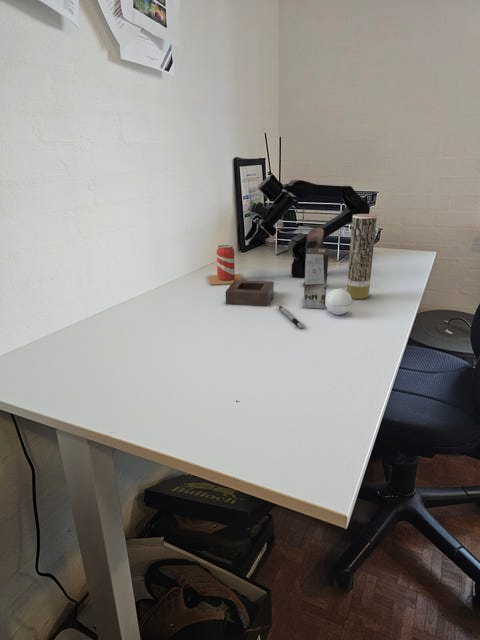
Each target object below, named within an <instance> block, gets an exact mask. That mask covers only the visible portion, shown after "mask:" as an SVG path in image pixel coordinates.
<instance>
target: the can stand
mask: <svg viewBox="0 0 480 640" xmlns="http://www.w3.org/2000/svg"><path fill="white" fill-rule="evenodd" d="M274 290H275V281H274V280H273V281H272V280H271V281H269V280H247V279H246V280H245V279H243V280H234V282H233V283H232V284H229V286H228V288H226V290H225V304H226V305H237V306H256V307H257V306H259V307H269V305H270V303H271V301H272V298H273V296H274V293H275V291H274Z"/></svg>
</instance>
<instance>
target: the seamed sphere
mask: <svg viewBox="0 0 480 640" xmlns="http://www.w3.org/2000/svg"><path fill="white" fill-rule="evenodd" d="M361 301H362V299H357V302H361ZM352 306H353V298H351V295H350V294H349V293H348V292H347V289H344V288H339V287H337V288H334V289H331V290H330V291H328V293H326V298H325V308H326V310H328V311H329V312H330V313H331V314H333V315H336V316H340V315H344V314H346V313H348V312H349V311H350V309H351V308H352Z"/></svg>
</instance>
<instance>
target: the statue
mask: <svg viewBox="0 0 480 640" xmlns="http://www.w3.org/2000/svg"><path fill="white" fill-rule="evenodd" d="M307 234H308V236H307V241H306V247H305V248H306V251H307V248H324V239H323V237H324V230H323V229H321V228H319V227H316V228H311V229H310V230H309V231H308V232H307ZM304 284H305V281H304V282H303V285H302V286H303V287H304Z"/></svg>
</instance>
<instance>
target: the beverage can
mask: <svg viewBox="0 0 480 640" xmlns="http://www.w3.org/2000/svg"><path fill="white" fill-rule="evenodd" d="M235 266H236V265H235V249H234V248H233V245H230V244H221V245H218V246H217V249H216V272H217V273H216V275H217V276H218V278H219V279H221V280H232V278H234V277H235V274H236V271H235V270H236V269H235V268H236V267H235Z"/></svg>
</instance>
